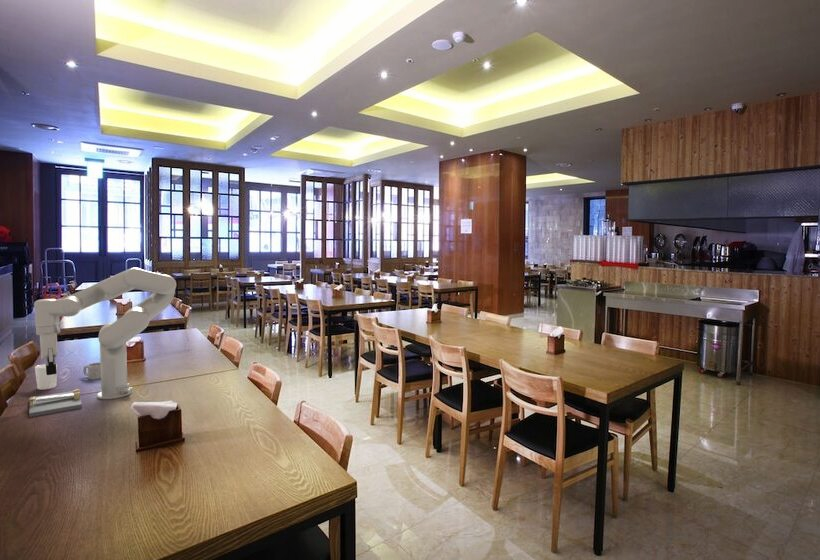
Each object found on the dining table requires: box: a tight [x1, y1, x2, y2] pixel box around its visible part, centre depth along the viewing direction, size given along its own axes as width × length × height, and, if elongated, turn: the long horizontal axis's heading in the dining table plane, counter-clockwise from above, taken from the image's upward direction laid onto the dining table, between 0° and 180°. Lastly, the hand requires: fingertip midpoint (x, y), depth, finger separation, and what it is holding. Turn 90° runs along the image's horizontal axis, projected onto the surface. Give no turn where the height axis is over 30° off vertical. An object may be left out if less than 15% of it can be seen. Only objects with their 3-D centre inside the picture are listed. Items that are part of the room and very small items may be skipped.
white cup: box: [34, 363, 58, 391], centre depth 203 cm, size 8×8×10 cm
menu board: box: [28, 388, 83, 418], centre depth 182 cm, size 16×22×4 cm
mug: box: [83, 362, 101, 380], centre depth 219 cm, size 10×7×7 cm
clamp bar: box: [35, 393, 74, 402], centre depth 183 cm, size 14×3×1 cm, turn 130°
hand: (51, 374), depth 182 cm, fingers closed
